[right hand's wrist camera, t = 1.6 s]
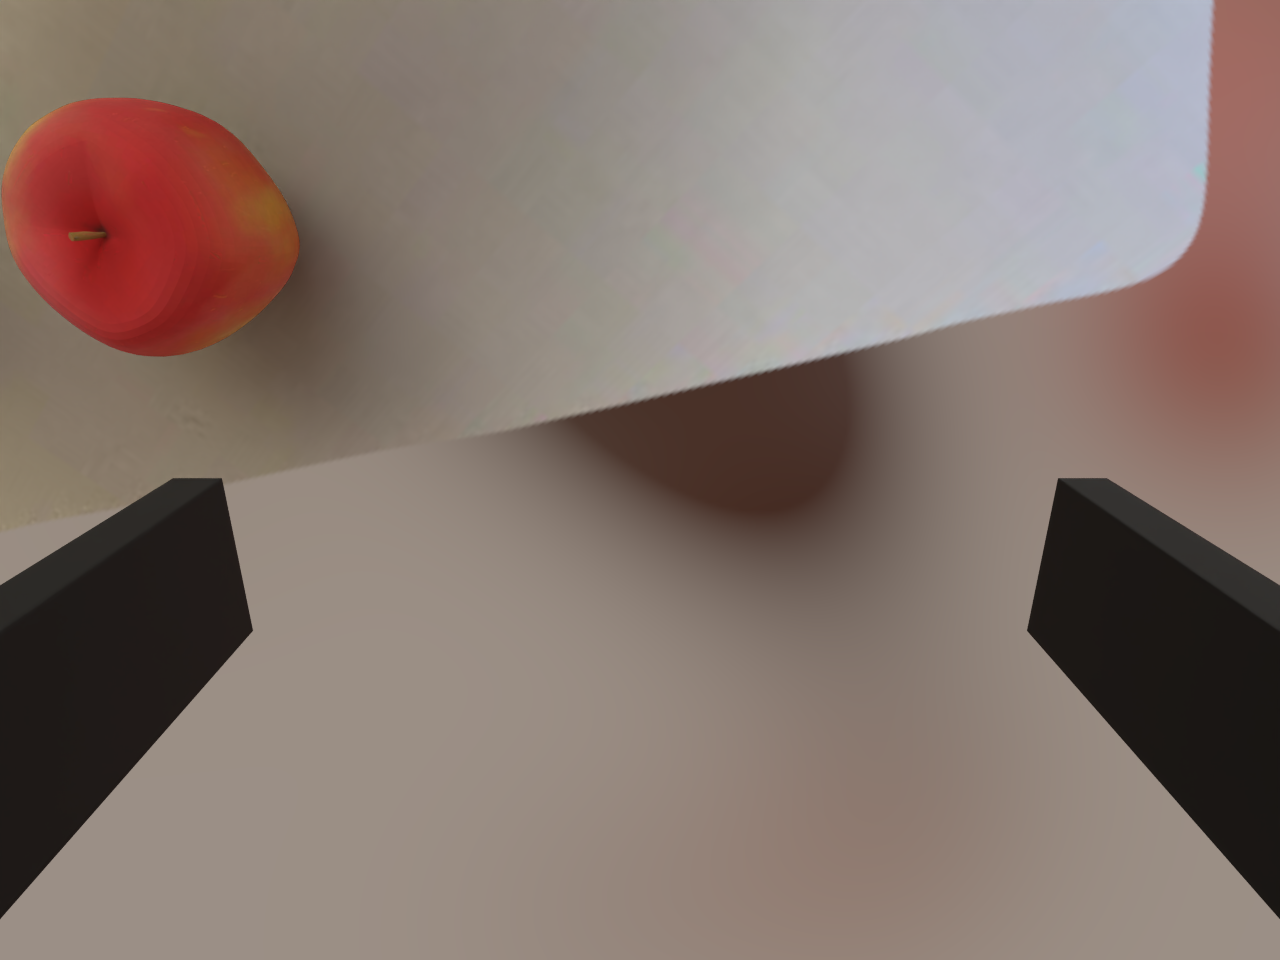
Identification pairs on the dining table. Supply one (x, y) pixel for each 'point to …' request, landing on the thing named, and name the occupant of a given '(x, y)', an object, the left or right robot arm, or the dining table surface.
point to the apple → (146, 224)
